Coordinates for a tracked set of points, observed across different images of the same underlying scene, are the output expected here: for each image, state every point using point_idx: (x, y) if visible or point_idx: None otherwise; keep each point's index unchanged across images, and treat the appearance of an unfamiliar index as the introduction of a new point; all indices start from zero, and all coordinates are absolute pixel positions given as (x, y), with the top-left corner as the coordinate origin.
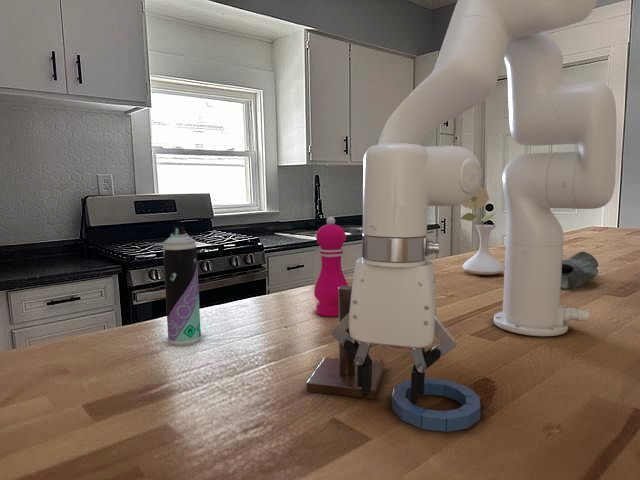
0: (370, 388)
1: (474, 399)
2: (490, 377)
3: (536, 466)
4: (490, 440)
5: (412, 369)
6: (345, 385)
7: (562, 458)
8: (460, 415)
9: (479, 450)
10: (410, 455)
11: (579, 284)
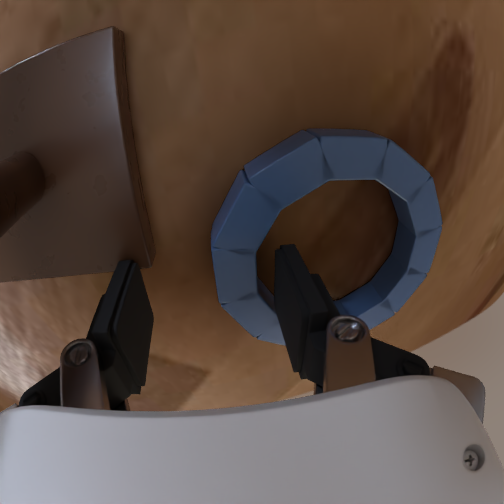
0: (141, 279)
1: (428, 248)
2: (466, 32)
3: (430, 334)
4: (404, 310)
5: (297, 356)
6: (66, 268)
7: (463, 307)
8: (380, 321)
9: (380, 337)
10: (279, 380)
11: None
